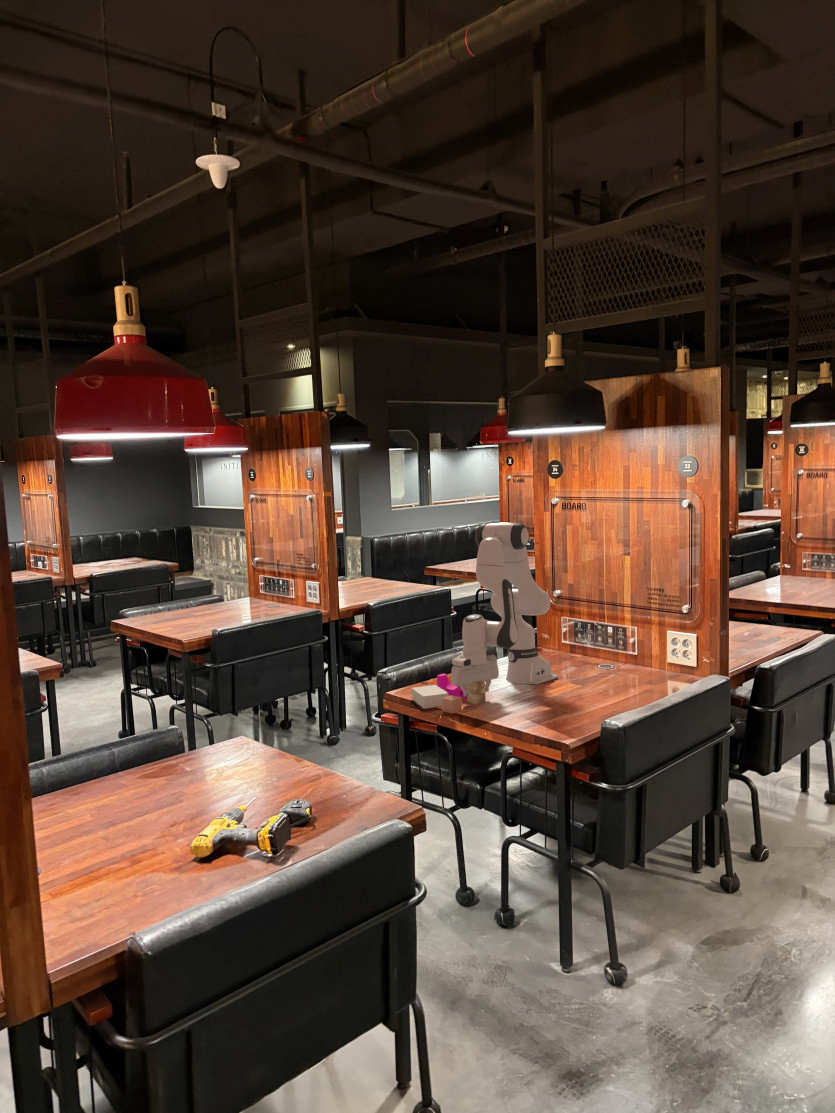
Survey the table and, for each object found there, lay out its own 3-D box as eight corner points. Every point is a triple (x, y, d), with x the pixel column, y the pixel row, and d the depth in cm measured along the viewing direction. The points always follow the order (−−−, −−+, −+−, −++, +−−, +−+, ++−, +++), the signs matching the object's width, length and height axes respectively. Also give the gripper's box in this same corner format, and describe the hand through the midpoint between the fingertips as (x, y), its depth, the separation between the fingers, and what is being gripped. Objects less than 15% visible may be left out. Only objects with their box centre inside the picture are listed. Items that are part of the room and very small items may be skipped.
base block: (435, 697, 315) (435, 684, 315) (448, 706, 302) (448, 693, 301) (411, 700, 312) (411, 687, 311) (423, 709, 299) (423, 696, 298)
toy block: (476, 696, 313) (475, 677, 313) (465, 699, 309) (464, 680, 308) (448, 690, 324) (447, 672, 323) (437, 693, 319) (436, 675, 319)
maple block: (477, 699, 308) (477, 678, 308) (485, 701, 304) (484, 681, 303) (467, 701, 306) (466, 681, 305) (475, 704, 301) (474, 683, 301)
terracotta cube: (451, 708, 298) (450, 695, 297) (461, 710, 294) (461, 697, 294) (442, 711, 294) (442, 698, 294) (452, 713, 291) (452, 700, 290)
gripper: (491, 652, 311) (492, 687, 313) (448, 660, 301) (449, 696, 302) (501, 655, 306) (502, 690, 307) (457, 663, 295) (459, 700, 297)
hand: (476, 693), depth 305 cm, fingers open, 8 cm apart
